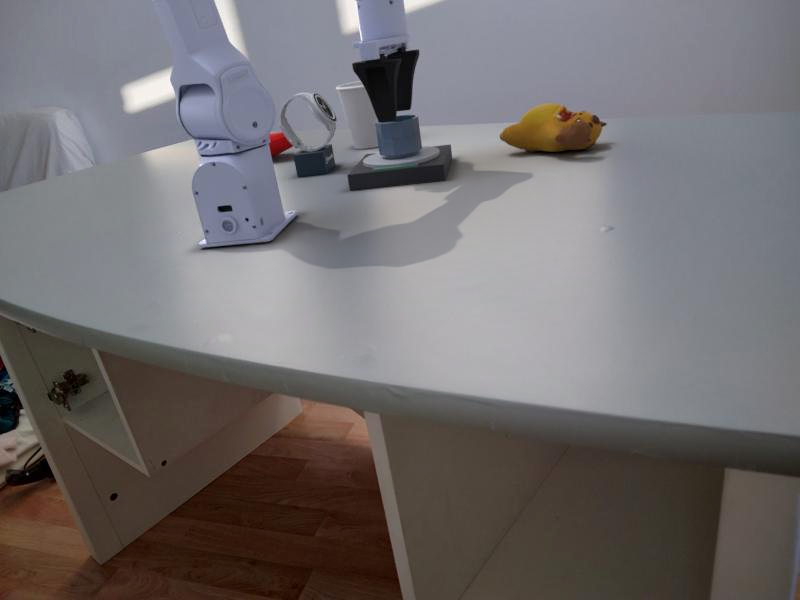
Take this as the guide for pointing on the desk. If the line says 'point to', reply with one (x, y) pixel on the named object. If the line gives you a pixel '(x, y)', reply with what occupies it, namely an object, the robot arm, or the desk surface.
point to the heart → (278, 143)
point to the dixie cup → (359, 114)
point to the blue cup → (399, 137)
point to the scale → (401, 169)
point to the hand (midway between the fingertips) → (395, 115)
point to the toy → (553, 129)
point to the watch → (312, 157)
